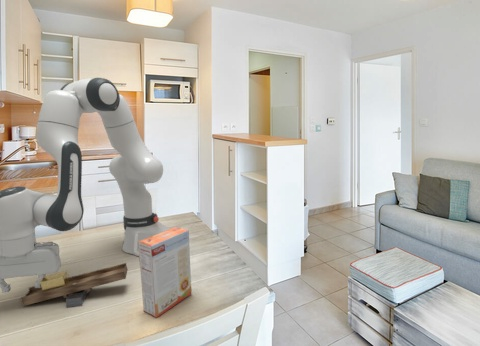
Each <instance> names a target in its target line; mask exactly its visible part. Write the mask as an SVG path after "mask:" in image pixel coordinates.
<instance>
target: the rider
mask: <svg viewBox="0 0 480 346" xmlns="http://www.w3.org/2000/svg"><path fill="white" fill-rule="evenodd" d="M69 277H70V276H69V274H68V270H62V271H59V272H56V273H52V274H46V275H45V277H44V278H43V280H42V281H41V282H40V284H41V287H42V290H43V292H44V291H48V290H52V289H56V288H60V287H63V286H67V285H69V283H70V280H69Z"/></svg>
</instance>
